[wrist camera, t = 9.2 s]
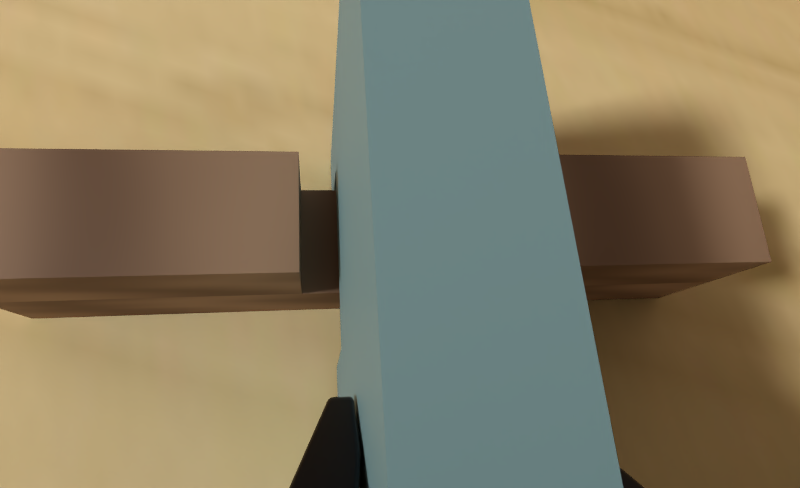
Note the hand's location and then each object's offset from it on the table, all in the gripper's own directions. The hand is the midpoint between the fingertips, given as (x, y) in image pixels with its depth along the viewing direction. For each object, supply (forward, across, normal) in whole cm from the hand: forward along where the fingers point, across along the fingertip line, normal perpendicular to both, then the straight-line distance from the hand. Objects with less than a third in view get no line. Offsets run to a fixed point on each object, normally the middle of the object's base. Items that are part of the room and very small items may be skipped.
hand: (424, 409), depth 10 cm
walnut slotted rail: (+9, 0, +2) cm, 9 cm away
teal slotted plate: (+7, 0, +4) cm, 8 cm away
